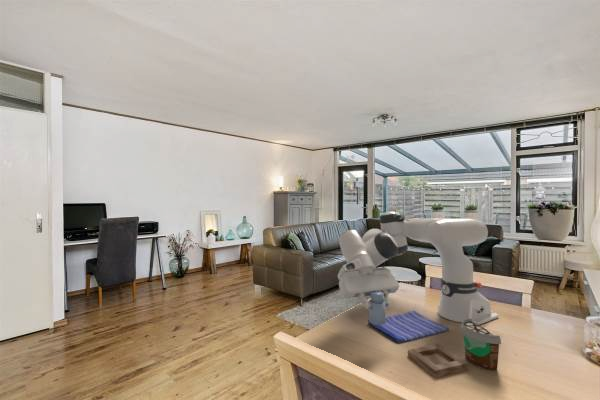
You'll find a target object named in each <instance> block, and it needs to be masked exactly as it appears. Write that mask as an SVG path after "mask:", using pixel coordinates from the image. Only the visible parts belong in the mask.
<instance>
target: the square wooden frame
mask: <svg viewBox="0 0 600 400" xmlns="http://www.w3.org/2000/svg"><path fill="white" fill-rule="evenodd" d="M407 357H409V358H410V359H411V360H412V361H413V362H415V363H416V364H418V365H419V366H420V367H421V368H422V369H424V370H425V371H427V372H428V373H429V374H430V375H432V376H433V377H434V378H438V377H444V376H446V375H451V374H454V373H455V374H456V373H460V372H464V371H467V370H469V368H468V364H469V362H468V361H465V360H463V359H462V358H460V357H458V356H457V355H456V354H454V353H453V352H451V351H449V350H448V349H446V348H445V347H443V346H441V345H440V344H439V343H437V344H431V345H426V346H422V347H416V348H411V349H408V350H407Z"/></svg>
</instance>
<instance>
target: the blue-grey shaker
mask: <svg viewBox="0 0 600 400" xmlns="http://www.w3.org/2000/svg"><path fill="white" fill-rule="evenodd" d="M368 301H370V302H371V304H372V308H371V309H368V314H369V315H368V317H369V319H368V320H369V322H370V323H372V324H375V325H384V324H385V323H386V317H387V316H386V314H387V312H386V307H385V301H384V293H382V292H378V291H374V292H371V296H370V299H369V300H368Z"/></svg>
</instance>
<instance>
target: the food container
mask: <svg viewBox="0 0 600 400" xmlns="http://www.w3.org/2000/svg"><path fill="white" fill-rule="evenodd" d="M460 332H461V333H462V335H463V340H464V341H463V343H464V354H465V359H466V362H468V363H470V364H471V365H473V366H475V367H477V368H479V369H484V370H487V371H488V370H489V371H498V366H499V365H498V364H499V363H498V362H499V352H500V351H499V349H500V345H501V344H502V340H501V336H500V335H495V334H492V333H491V332H490V331H488V330H487V329H486V328H484V327H482V326H480V325H476V324H474V323H473V322H472V319H466V320H464V321H463V322H461V326H460Z"/></svg>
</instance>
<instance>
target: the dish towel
mask: <svg viewBox="0 0 600 400" xmlns="http://www.w3.org/2000/svg"><path fill="white" fill-rule="evenodd" d="M367 323H368V324H370V325H369V326H371V327H372V328H374V329H375V330H377V331H378V332H380V333H381V334H383V335H385V336H386V337H387V338H388V339H390V340H391V341H393V342H395V343H397V344H399V343H404V342H405V343H406V342H409V341H414V340H418V339H422V338H426V337H430V336H435V335H438V334H442V333H444V332H446V331H449V330H450V327H448V326H445V325H443V324H441V323H438V322H437V321H434V320H432V319H429V318H427V317H425V316H423V315H422V314H420V313H418V312H417V311H415V310H411V311H409V312H405V313H401V314H394V315H389V316H386V323H385V324H384V325H375V324H372V323H370V322H369V319H368V320H367Z"/></svg>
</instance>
